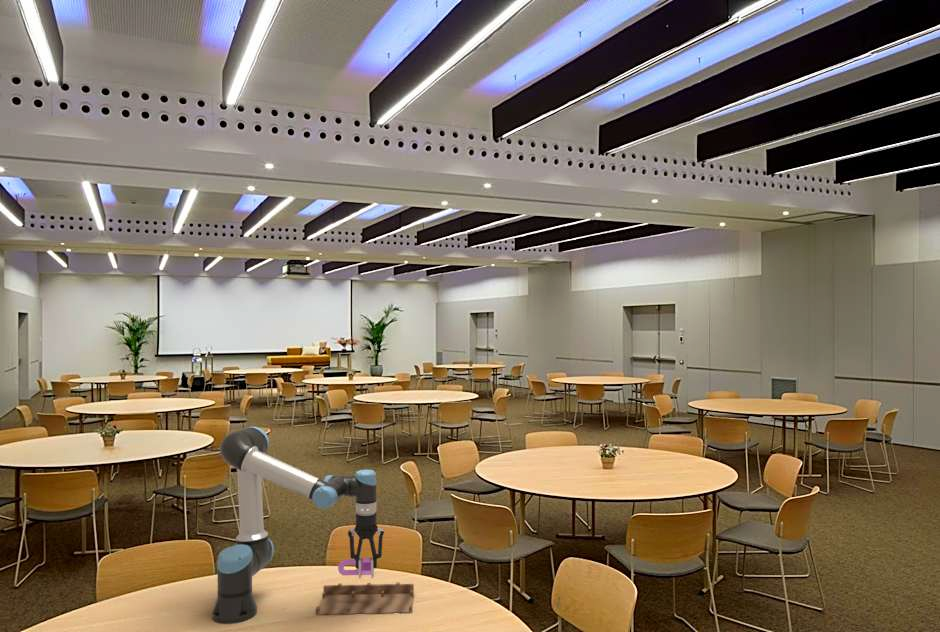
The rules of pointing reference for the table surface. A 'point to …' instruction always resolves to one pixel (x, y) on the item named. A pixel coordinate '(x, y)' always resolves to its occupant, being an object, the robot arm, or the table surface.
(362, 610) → the ledge
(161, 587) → the table surface
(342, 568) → the bracket
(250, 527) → the robot arm
